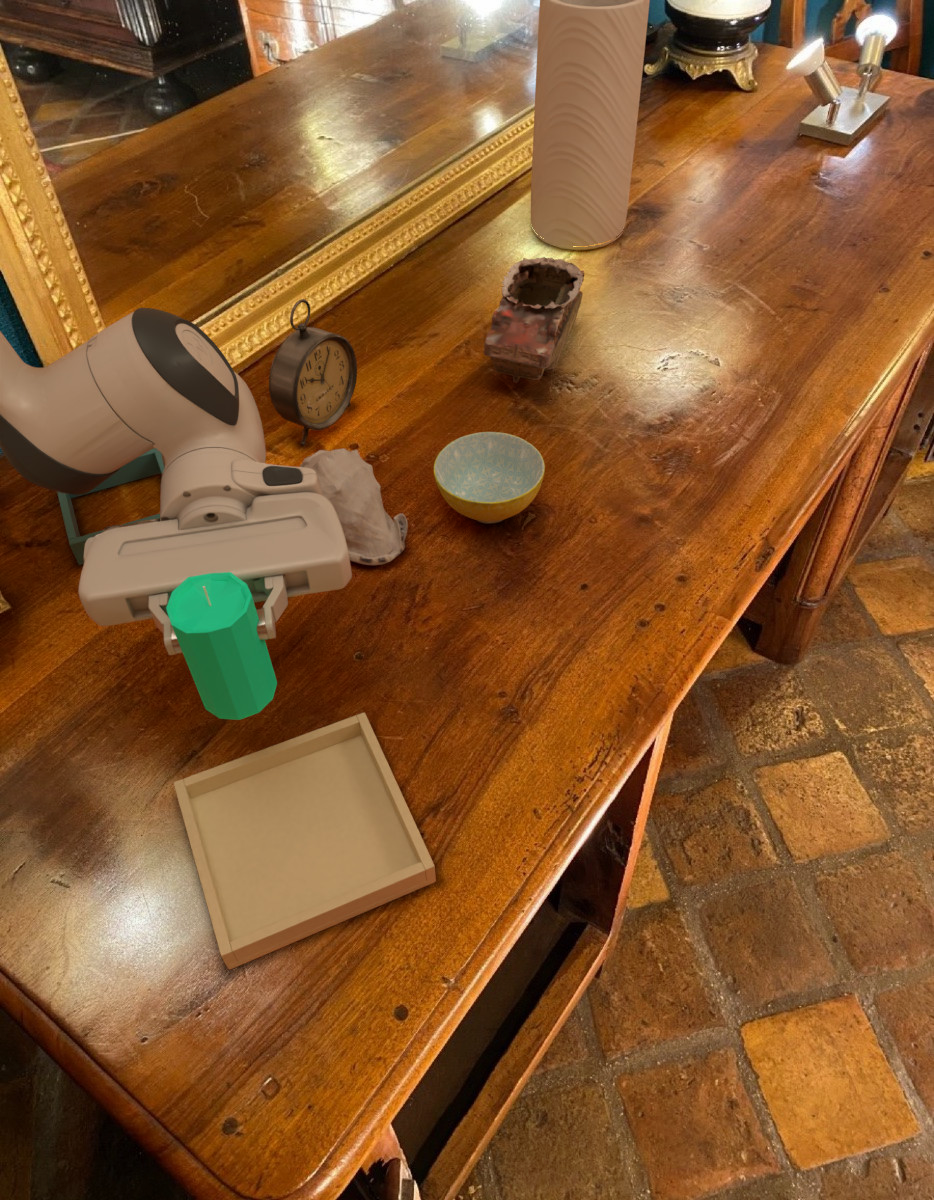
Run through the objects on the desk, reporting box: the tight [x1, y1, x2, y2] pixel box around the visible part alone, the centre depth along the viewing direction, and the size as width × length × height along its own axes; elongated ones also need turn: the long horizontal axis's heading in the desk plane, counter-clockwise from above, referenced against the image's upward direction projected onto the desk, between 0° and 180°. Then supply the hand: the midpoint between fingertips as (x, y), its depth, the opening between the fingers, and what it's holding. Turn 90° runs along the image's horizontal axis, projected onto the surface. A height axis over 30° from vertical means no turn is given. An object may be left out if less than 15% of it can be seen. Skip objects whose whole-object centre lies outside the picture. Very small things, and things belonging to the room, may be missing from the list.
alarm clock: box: [268, 298, 358, 447], centre depth 106 cm, size 11×5×16 cm, turn 147°
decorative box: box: [482, 256, 585, 383], centre depth 116 cm, size 13×20×10 cm, turn 156°
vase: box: [530, 0, 651, 251], centre depth 131 cm, size 14×14×32 cm
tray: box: [173, 711, 437, 971], centre depth 76 cm, size 17×16×3 cm
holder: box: [56, 448, 165, 566], centre depth 101 cm, size 12×12×3 cm
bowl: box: [433, 431, 546, 524], centre depth 100 cm, size 11×12×6 cm
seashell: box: [299, 447, 409, 566], centre depth 97 cm, size 12×14×10 cm
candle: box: [166, 572, 278, 721], centre depth 70 cm, size 6×6×12 cm
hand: (221, 641), depth 68 cm, fingers closed on candle, 5 cm apart
